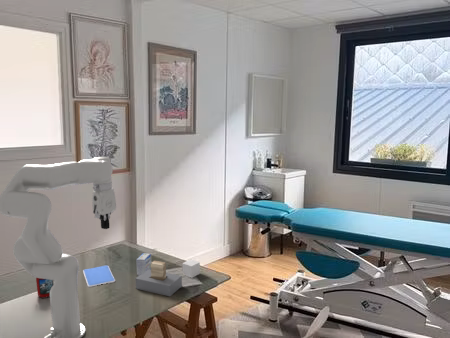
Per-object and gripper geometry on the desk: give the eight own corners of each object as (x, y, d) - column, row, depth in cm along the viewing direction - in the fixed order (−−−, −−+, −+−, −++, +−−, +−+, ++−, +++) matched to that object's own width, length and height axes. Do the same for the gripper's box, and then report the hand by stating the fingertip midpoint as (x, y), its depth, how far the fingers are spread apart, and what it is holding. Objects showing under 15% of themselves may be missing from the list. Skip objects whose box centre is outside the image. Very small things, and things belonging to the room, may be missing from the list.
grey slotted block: (169, 296, 181) (169, 285, 180) (135, 288, 188) (135, 278, 187) (181, 285, 191) (181, 275, 190) (149, 278, 198) (148, 269, 197)
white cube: (199, 273, 203) (199, 262, 202) (191, 278, 199) (191, 266, 197) (191, 270, 207) (191, 259, 206) (182, 274, 202) (182, 263, 201)
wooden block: (162, 290, 187) (162, 265, 184) (151, 287, 189) (150, 263, 187) (166, 287, 190) (165, 262, 187) (155, 284, 192) (154, 260, 190)
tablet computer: (115, 282, 195) (115, 280, 195) (88, 288, 190) (87, 286, 189) (108, 267, 212) (108, 264, 212) (82, 272, 207) (82, 269, 206)
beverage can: (44, 300, 178) (41, 274, 176) (34, 296, 182) (31, 270, 179) (57, 293, 184) (55, 268, 182) (48, 289, 187) (45, 265, 185)
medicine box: (145, 276, 200) (144, 259, 198) (136, 275, 201) (136, 259, 199) (151, 269, 208) (150, 253, 206) (143, 268, 209) (142, 252, 207)
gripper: (97, 191, 164) (100, 235, 168) (121, 183, 178) (123, 224, 181) (83, 189, 167) (86, 232, 171) (107, 181, 181) (109, 221, 184)
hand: (105, 228), depth 176 cm, fingers closed
